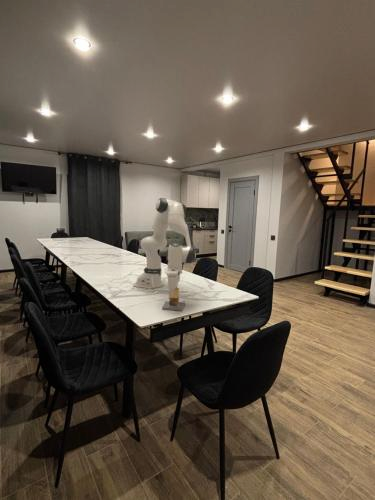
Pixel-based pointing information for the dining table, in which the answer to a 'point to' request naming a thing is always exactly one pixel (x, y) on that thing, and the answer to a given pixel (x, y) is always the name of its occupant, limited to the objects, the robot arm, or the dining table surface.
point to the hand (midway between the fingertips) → (174, 292)
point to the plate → (178, 308)
